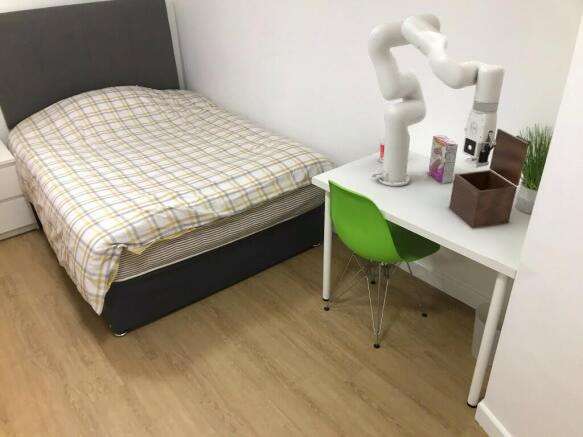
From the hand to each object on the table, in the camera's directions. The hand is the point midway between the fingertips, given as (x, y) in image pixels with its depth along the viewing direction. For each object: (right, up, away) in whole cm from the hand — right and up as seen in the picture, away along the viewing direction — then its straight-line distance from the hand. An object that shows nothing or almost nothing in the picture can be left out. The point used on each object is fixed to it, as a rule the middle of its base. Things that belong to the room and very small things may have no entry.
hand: (475, 157), depth 156 cm
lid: (+9, 0, -3) cm, 9 cm away
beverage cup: (-20, +5, +51) cm, 55 cm away
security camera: (0, -2, +1) cm, 2 cm away
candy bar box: (-1, -4, +34) cm, 35 cm away
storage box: (+3, -19, +7) cm, 21 cm away
